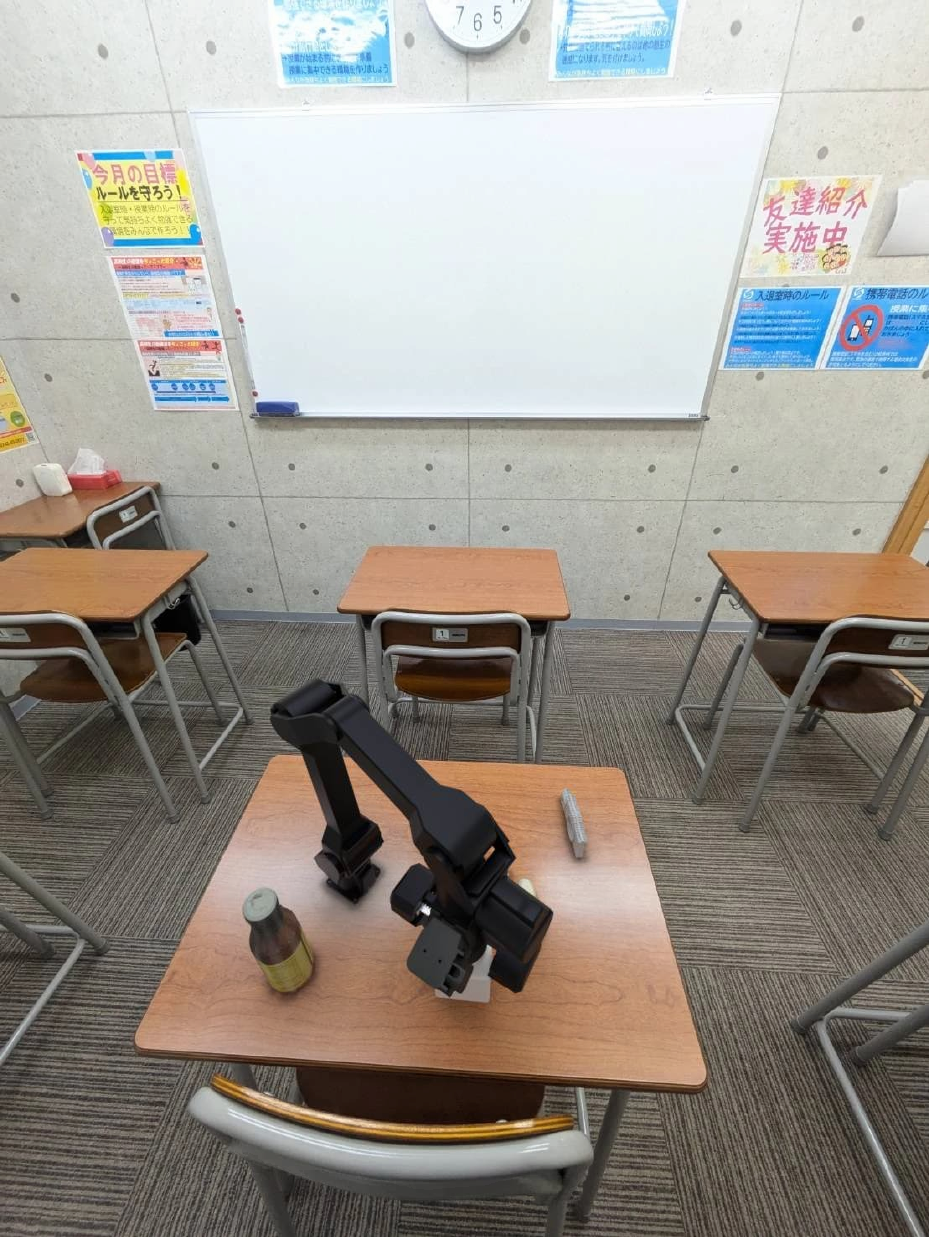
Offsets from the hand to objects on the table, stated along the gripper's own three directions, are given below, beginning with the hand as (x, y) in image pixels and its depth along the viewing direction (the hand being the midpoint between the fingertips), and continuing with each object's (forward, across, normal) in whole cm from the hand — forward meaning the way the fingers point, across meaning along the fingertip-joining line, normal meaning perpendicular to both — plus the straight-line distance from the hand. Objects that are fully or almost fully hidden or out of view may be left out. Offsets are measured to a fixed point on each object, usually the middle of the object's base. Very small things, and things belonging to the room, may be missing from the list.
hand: (463, 954), depth 68 cm
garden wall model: (+8, +4, +30) cm, 31 cm away
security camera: (+5, 0, 0) cm, 5 cm away
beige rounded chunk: (+8, +4, +11) cm, 14 cm away
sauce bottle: (+8, -21, -12) cm, 26 cm away
